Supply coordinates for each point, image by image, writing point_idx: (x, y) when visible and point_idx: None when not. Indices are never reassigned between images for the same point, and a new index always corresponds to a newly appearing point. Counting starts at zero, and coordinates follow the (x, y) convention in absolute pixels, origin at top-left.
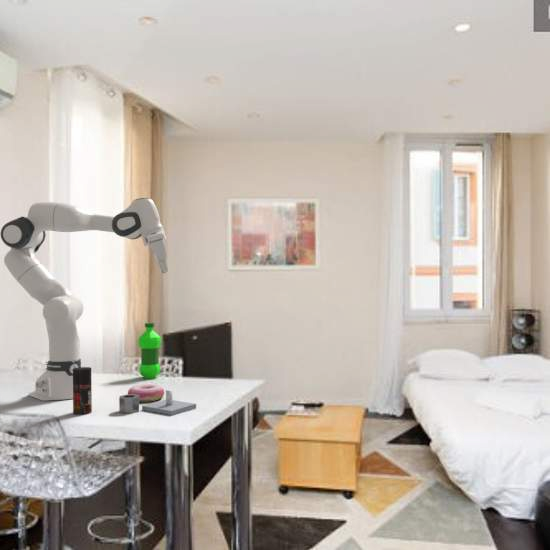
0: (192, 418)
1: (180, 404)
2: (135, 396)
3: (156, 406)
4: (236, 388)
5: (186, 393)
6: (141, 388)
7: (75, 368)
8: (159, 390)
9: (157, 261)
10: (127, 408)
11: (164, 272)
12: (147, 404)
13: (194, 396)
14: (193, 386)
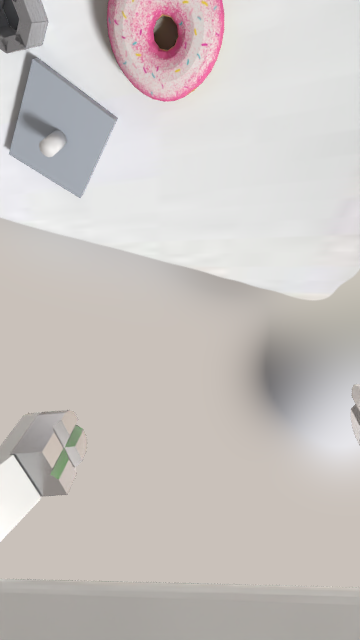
0: (7, 195)
1: (68, 165)
2: (5, 40)
3: (36, 106)
4: (262, 260)
5: (230, 153)
6: (172, 9)
7: None
8: (145, 92)
9: (65, 586)
10: None
11: (357, 403)
12: (50, 72)
13: (192, 179)
14: (320, 162)
